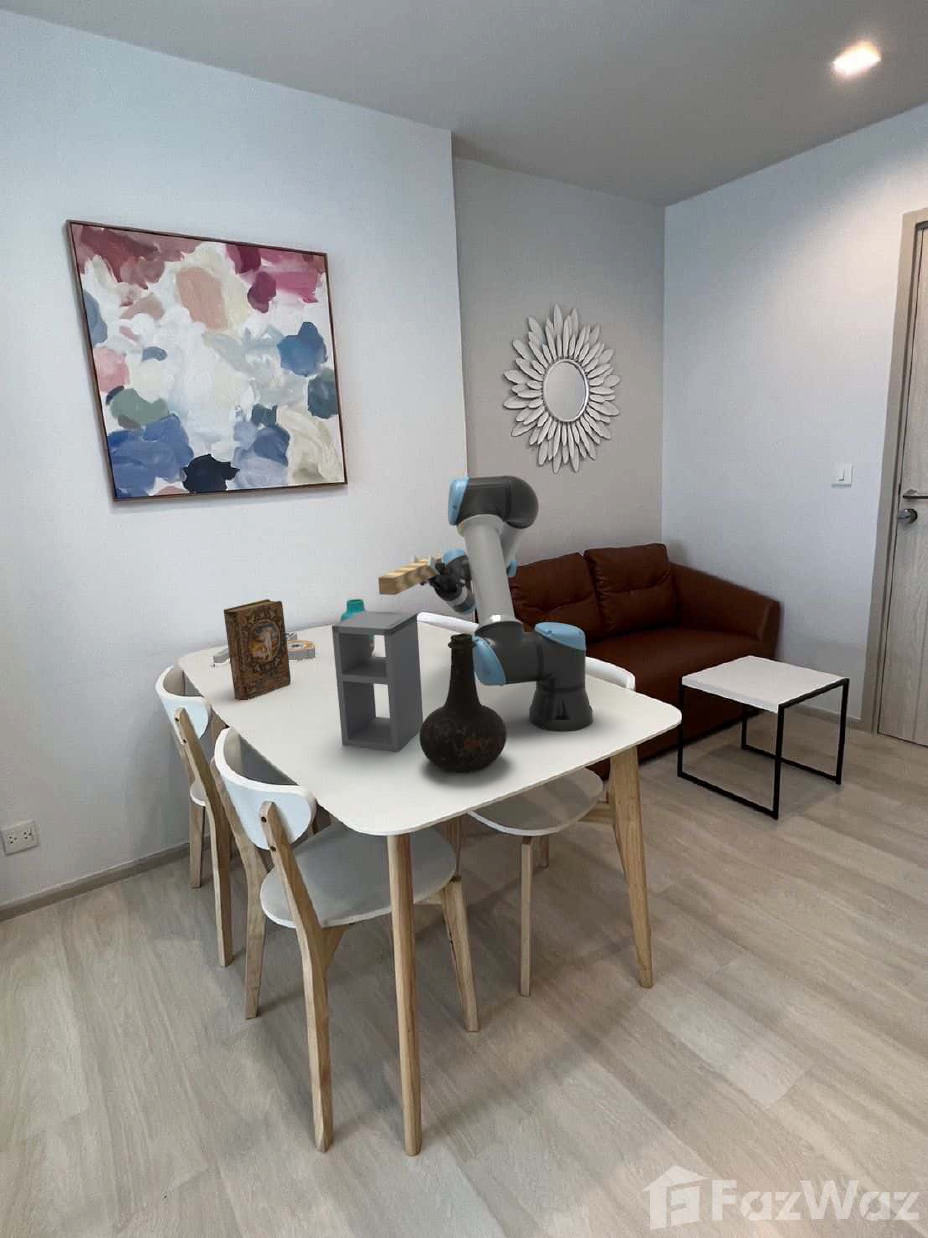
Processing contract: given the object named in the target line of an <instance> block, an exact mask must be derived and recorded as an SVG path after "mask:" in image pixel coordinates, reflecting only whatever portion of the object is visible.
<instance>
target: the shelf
mask: <svg viewBox="0 0 928 1238" xmlns="http://www.w3.org/2000/svg"><path fill="white" fill-rule="evenodd" d="M418 629H419V628H418V613H413V612H411V613H410V612H392V611H390V612H389V611H372V610H371V611H369V610H366V611H362V612H359V613H357V614H355V615H353V616H351V617H349V618H347V619H345V620H343V621H341V620H340V621H338V622H337V623H334V624H333V625H331V631H332V644H333V654H334V664H335V667H334V668H335V676H336V678H335V679H336V687H337V698H338V699H337V700H338V709H339V710H338V711H339V722H340V732H341V744H342V746H347V747H355V748H363V749H371V750H379V751H387V752H393V753H394V752H395V753H399V752H400V751H401V750H402V749H403V748H404V747H405V746H407V744H408V743H409V742H410V741H412V739H413V738H414V737H415V736H416V735H417V734H419V733H420V730H421V727H422V724H423V722H424V714H423V713H424V712H423V697H422V682H421V681H422V680H421V664H420V663H421V661H420V660H421V659H420V648H419V647H420V646H419V630H418ZM370 635H374V636H383V641H384V654H385V656H377V655H372V654H371V642H370ZM375 684H376V685H385V686H387V696H388V710H389V713H388V714H389V717H384V716H383V717H382V716H377V710H376V695H375Z"/></svg>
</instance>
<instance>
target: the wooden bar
mask: <svg viewBox="0 0 928 1238" xmlns="http://www.w3.org/2000/svg"><path fill="white" fill-rule="evenodd" d="M432 557H433V558H434V559H435V560H436V561H437V562H438V563H440V564H441V563H443V556H442V557H437V556H435V557H434V556H432ZM419 560H420V559H419ZM427 564H428V557H425V558H423V559H421V560H420V561H418V562H415V563H413V564H411V563H410V564H408V565H405V566H403V567H400V568H398V569H396V570H394V571H390V572H389V573H386V574H384V575H381V576H378V590H379V591H378V593H379V595H383V596H384V595H385V596H396V595H399V594H401V593H402V592H405V591H407V590H408V589H410V588H413V587H415V586H417V585H418V584H419V585H420V583H421V582H423V581H425V580H427V579H429V578H431V577H434V576H436V575H438V574H435V573H434V572H433V571H432V570H431V569H430V568H429V567H428V566H427Z"/></svg>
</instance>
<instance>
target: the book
mask: <svg viewBox="0 0 928 1238" xmlns="http://www.w3.org/2000/svg"><path fill="white" fill-rule="evenodd" d="M284 614H285V613H284V607H283V602H282V600H277V601H272V600H270V599H269V598H267V599H262V600H259V601H255V602H250V603H246V604H241V605H237V606H233V607H229V608H225V609H223V616H224V623H225V630H226V631H225V632H226V640H227V648H229V656H230V662H229V663H230V669H231V677H232V678H231V679H232V686H233V687H232V688H233V692H234V693H233V694H234V699H235V700H236V699H239V700H248V699H250V700H253V699H255V697H256V698H258V697H261V696H263V695H265V694H268V692H269V693H270V692H273V690H274V691H276V690H275V689H277V690H279V689H282V688H283V687H286V686H288V685H290V684H291V677H292V676H291V667H290V662H289V658H288V650H287V641H286V632H287V631H286V626H285V624H286V623H285V615H284ZM262 694H263V695H262ZM260 695H261V696H260ZM257 696H258V697H257ZM252 698H253V699H252ZM239 700H238V701H239ZM248 701H249V700H248Z"/></svg>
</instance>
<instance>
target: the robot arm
mask: <svg viewBox="0 0 928 1238" xmlns="http://www.w3.org/2000/svg"><path fill="white" fill-rule="evenodd" d="M447 500H448V501H447V519H448V521H447V522H448V524H449V525H450V526H452V527H455V526H456V531H457V533H458V535H459V536H460V537H462V538H464V540H465V548H466V551H465V549H460V548H453V549H450V550H448V551H446V552H445V553H444V554H443V556H442V563H441V564H440V563H438V562H437V561H436V560H435V559H434V558H433V557H434V556H432V555H428V557H427V558H428V564H427V566H428V567H429V568H430V569H431V570H432V571H433V572H434V573H435V574H438V575H436V576H434V577H431V578H429V579H427V580H425V581H423V582H421V583H419V585H420V586H422V587H423V586H425V585H427V584H428V585H429V587H432V588H433V589H434V592H435V593H436V595H437V596H438V597H439V598H440V599H442V600H443V601H444V602H445V603H446V605H448V606H449V607H450V608H451V610H453V611H454V612H455V613H457V614H458V615H461V616H462V615H463V616H467V615H468V616H469V615H471V614H473V613H474V611H475V610H476V613H477V619H478V626H477V627H476V628H475V630H474V631H473V634H474V636H473V638H472V641H473V642H475V643H476V644H477V646H476V647H474V648H473V661H474V673H475V677H476V678H477V680H478V681H479V682H480V683H481V684H482V685H484V686H486V687H494V686H497V687H498V686H499V687H503V686H506V685H516V684H524V683H533V682H535V690H534V694H533V697H532V701H531V705H530V707H529V710H528V711H529V713H528V714H529V717H528V718H529V721H530V723H531V724H533V725H534V726H536V727H538V728H541V729H546V730H549V731H558V730H559V732H560V731H561V732H562V731H563V730H566V732H567V730H568V731H575V730H576V731H577V730H579V729H582V728H585V726H586V727H588V726H589V725H591V724H592V722H593V717H594V716H593V709H592V706H591V704H590V699H589V696H588V693H587V690H586V661H587V659H586V655H587V653H586V650H587V646H586V634H585V632H584V631H583V630H582V629H581V628H579V627H577V626H574V625H572V624H566V623H561V622H549V621H548V622H547V621H545V622H540V623H537V624H535V627H534V631H528V632H527V631H526V632H525V631H524V630H525V629H524V625H523V624H524V623H523V622H522V621H521V620H518V619H517V618H516V617H515V611H514V607H513V601H512V595H511V592H510V586H509V580H508V578H509V579H510V578H513V577H514V576H515V575H516V574H517V573H516V571H517V561H516V558H515V555H516V553H517V551H518V549H519V546H520V544H521V542H522V540H523V538H524V536H525V534H526V531H527V530H528V529H529V528H530V527H532V525H534V523H535V522H536V519H537V517H538V514H539V508H540V507H539V506H540V505H539V504H540V503H539V499H538V496H537V493H536V492H535V490H534V489H533V487H532V486H531V485H530V484H529V483H528V482H526V480H524V479H522V478H520V477H518V476H514V475H498V476H497V475H495V476H481V477H479V476H478V477H470V476H467V477H461V478H455V479H453V480H452V482H451V484H450V486H449V491H448V499H447ZM418 561H420V559H419V557H416V555H411V560H410V564H413V563H415V562H418ZM587 725H588V726H587ZM563 732H564V731H563Z"/></svg>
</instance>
